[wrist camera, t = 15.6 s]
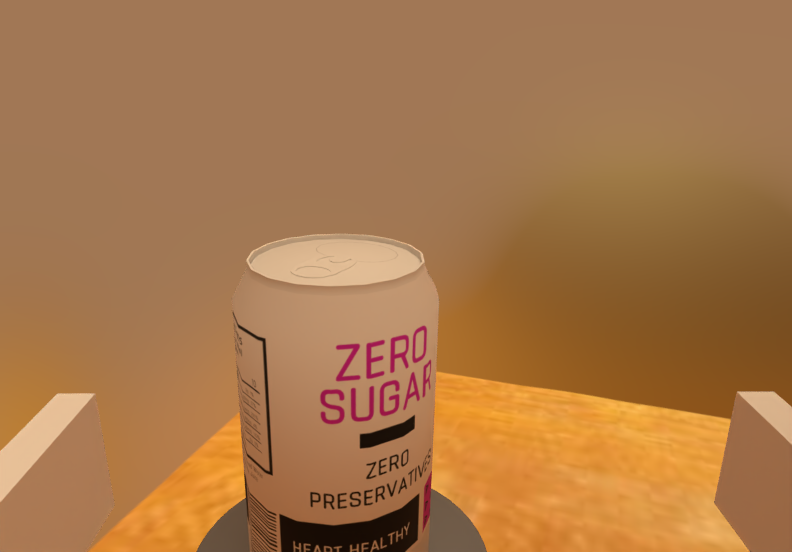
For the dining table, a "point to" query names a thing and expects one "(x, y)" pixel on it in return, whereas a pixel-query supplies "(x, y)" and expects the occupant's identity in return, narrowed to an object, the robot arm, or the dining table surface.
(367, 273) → the supplement can
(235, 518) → the grey disc
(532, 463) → the dining table surface
